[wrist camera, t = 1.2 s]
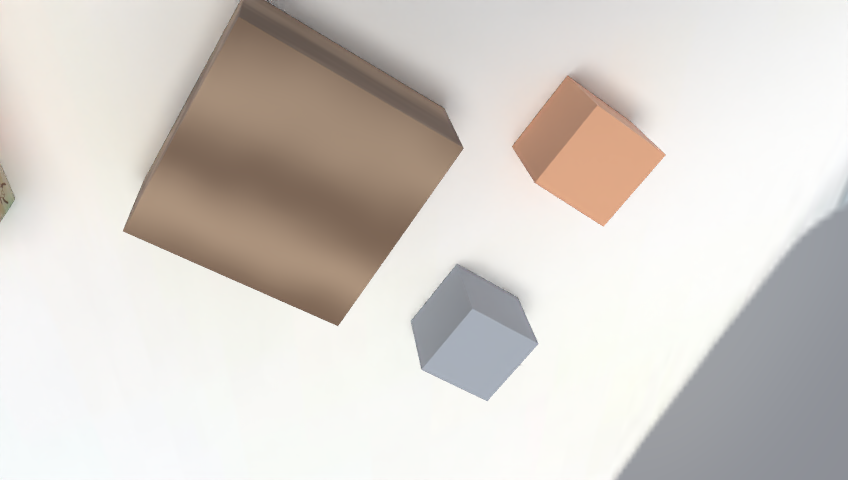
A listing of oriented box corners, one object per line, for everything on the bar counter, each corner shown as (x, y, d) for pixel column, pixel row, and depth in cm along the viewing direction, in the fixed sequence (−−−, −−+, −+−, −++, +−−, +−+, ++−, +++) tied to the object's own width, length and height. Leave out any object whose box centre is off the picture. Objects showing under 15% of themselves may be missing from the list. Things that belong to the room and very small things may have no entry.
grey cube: (456, 263, 47) (472, 308, 43) (517, 297, 49) (538, 343, 45) (410, 320, 49) (421, 369, 45) (471, 350, 51) (487, 401, 46)
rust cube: (567, 75, 42) (597, 105, 38) (629, 121, 44) (665, 154, 40) (511, 146, 44) (534, 182, 39) (574, 187, 46) (603, 226, 41)
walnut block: (246, -12, 38) (238, 16, 32) (443, 106, 42) (463, 148, 37) (144, 178, 42) (122, 231, 37) (333, 268, 46) (337, 325, 41)
